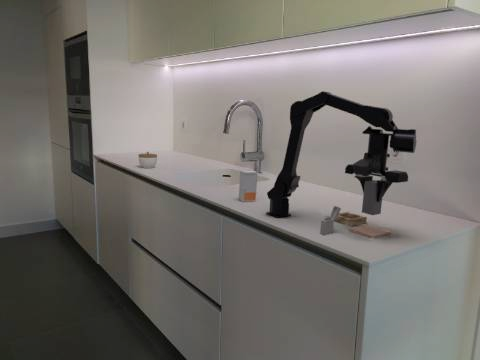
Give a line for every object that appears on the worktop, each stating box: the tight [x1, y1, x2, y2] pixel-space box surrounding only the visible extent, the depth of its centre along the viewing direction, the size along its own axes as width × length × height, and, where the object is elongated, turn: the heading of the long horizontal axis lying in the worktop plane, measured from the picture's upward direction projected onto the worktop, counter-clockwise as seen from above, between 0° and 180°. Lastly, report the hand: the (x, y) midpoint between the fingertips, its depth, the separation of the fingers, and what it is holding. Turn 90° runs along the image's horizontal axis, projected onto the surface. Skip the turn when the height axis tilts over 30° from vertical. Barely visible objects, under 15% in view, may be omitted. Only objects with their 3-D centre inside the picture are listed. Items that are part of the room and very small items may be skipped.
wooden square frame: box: [334, 211, 368, 227], centre depth 136 cm, size 8×8×2 cm
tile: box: [348, 223, 391, 239], centre depth 125 cm, size 9×9×1 cm
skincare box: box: [238, 170, 258, 203], centre depth 160 cm, size 6×4×12 cm
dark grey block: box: [361, 179, 383, 216], centre depth 124 cm, size 4×4×10 cm
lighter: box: [319, 205, 342, 236], centre depth 122 cm, size 7×2×8 cm, turn 129°
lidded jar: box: [138, 151, 158, 169], centre depth 236 cm, size 11×11×9 cm
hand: (372, 200), depth 124 cm, fingers closed on dark grey block, 4 cm apart
